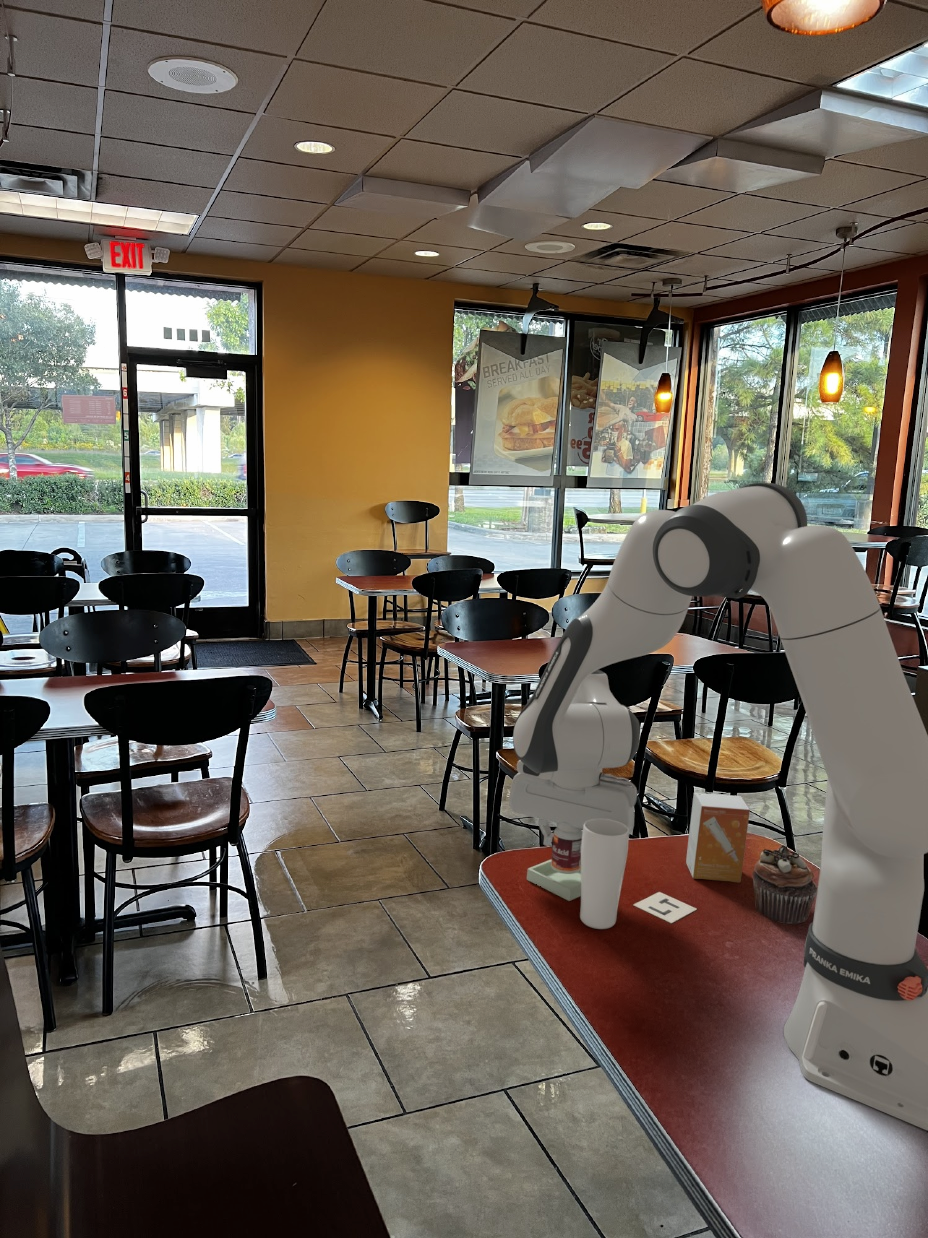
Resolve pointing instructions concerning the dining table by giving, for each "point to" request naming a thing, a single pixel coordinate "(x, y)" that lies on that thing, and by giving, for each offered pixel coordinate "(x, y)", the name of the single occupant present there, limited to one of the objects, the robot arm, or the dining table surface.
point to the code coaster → (665, 907)
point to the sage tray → (555, 880)
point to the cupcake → (783, 886)
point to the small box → (717, 837)
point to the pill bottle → (566, 849)
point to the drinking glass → (602, 870)
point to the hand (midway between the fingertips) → (567, 849)
